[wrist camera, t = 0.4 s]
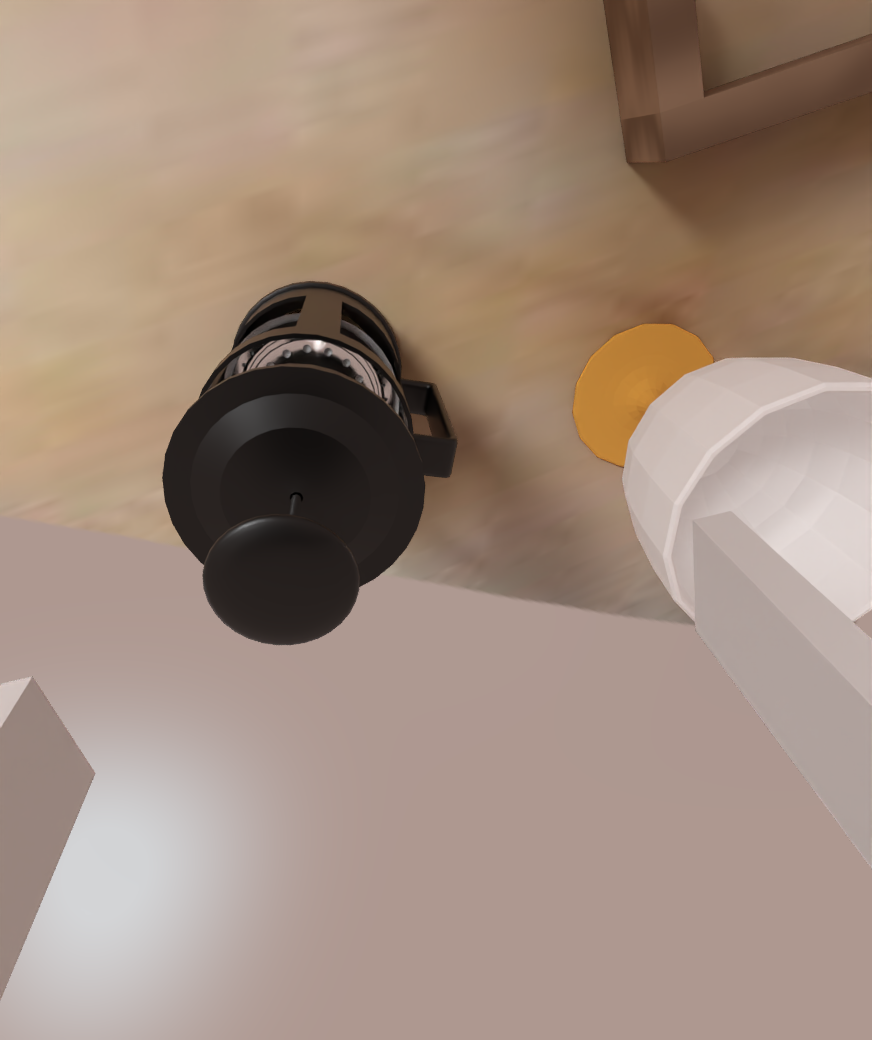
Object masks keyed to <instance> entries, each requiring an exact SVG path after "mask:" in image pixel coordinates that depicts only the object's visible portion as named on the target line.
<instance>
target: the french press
mask: <svg viewBox="0 0 872 1040" xmlns="http://www.w3.org/2000/svg"><path fill="white" fill-rule="evenodd" d="M298 309H302V310H301V313H297V314H290V315H285V314H287V313H290V312H292V311H295V310H298ZM341 314H343V315H345V316H347V317H349V318H350V319H351V320H353V321H354V322H355V323H357V324H358V325H359V326H360V327H361V328H362V329H363V330H364V332H365V333H366V334H365V333H364V332H363V331H361V330H360V329H359V328H357V327H356V326H354V325H352V324H350V323H348V322H346V321H343V320H341ZM410 413H413V414H420V415H424V416H426V417H427V420H428V423H429V427H430V430H431V433H432V436H427V435H420V434H413V427H412V419H411V415H410ZM456 448H457V437H456V434H455V432H454V429H453V427H452V424H451V421H450V419H449V416H448V414H447V411H446V409H445V406H444V403H443V401H442V398H441V396H440V393H439V391H438V388H437V386H436V385H435V384H433V383H427V382H421V381H414V380H407V379H401V359H400V352H399V348H398V345H397V342H396V339H395V336H394V333H393V331H392V330H391V328H390V326H389V325H388V323H387V321H386V319H385V318H384V317H383V316H382V315H381V313H380V312H379V311H378V310H377V309H376V308H375V307H374V305H372V304H371V303H370V302H368V301H367V300H366V299H365V298H363V297H362V296H361V295H359V294H357V293H355V292H353V291H351V290H349V289H347V288H345V287H342V286H339V285H335V284H331V283H328V282H315V281H307V282H299V283H292V284H290V285H287V286H284V287H281V288H278V289H276V290H274V291H273V292H271V293H269V294H268V295H266V296H265V297H263V298H262V299H261V300H260V301H259V302H258V303H256V304H255V305H254V306H253V307H252V308H251V309H250V311H249V312H248V314H247V315H246V317H245V318H244V320H243V321H242V323H241V324H240V326H239V329H238V332H237V334H236V337H235V340H234V345H233V348H232V350H231V352H230V353H229V354H228V355H227V356H226V357H225V358H224V359H223V360H222V361H221V362H220V363H219V364H218V366H217V367H216V369H215V370H214V372H213V373H212V375H211V376H210V378H209V379H208V381H207V382H206V384H205V386H204V387H203V389H202V391H201V394H200V396H199V399H198V400H197V401H196V402H195V403H194V404H193V405H192V406H191V407H190V408H189V409H188V410H187V412H186V413H185V415H184V416H183V418H182V419H181V421H180V422H179V424H178V425H177V427H176V429H175V430H174V432H173V434H172V437H171V440H170V443H169V445H168V448H167V451H166V454H165V461H164V469H163V477H162V479H163V488H164V497H165V503H166V506H167V509H168V512H169V515H170V518H171V521H172V524H173V525H174V527H175V529H176V530H177V532H178V534H179V536H180V537H181V539H182V541H183V542H184V544H185V545H186V546H187V548H188V549H189V550H190V551H191V552H192V553H193V554H194V555H195V557H196V558H197V559H198V560H199V561H200V562H201V563H202V564H203V565H204V569H203V586H204V591H205V594H206V596H207V600H208V602H209V604H210V606H211V607H212V609H213V611H214V612H215V614H216V615H217V616H218V617H219V618H220V619H221V620H222V621H223V623H224V624H226V625H227V626H229V627H230V628H231V629H232V630H234V631H235V632H237V633H239V634H241V635H243V636H244V637H246V638H248V639H252V640H255V641H258V642H261V643H267V644H273V645H294V644H300V643H305V642H308V641H312V640H315V639H318V638H320V637H322V636H324V635H325V634H327V633H329V632H331V631H332V630H333V629H335V628H336V627H337V626H338V625H339V624H341V623H342V621H343V620H344V619H345V618H346V617H347V616H348V614H349V613H350V612H351V610H352V608H353V606H354V604H355V602H356V599H357V595H358V592H359V587H360V586H362V585H364V584H366V583H368V582H370V581H371V580H373V579H375V578H376V577H378V576H379V575H380V574H381V573H383V572H384V571H385V570H386V569H388V568H389V567H390V566H391V565H392V564H393V563H394V562H395V561H396V560H397V558H398V557H399V556H400V555H401V554H402V553H403V551H404V550H405V549H406V548H407V546H408V544H409V542H410V541H411V539H412V537H413V535H414V533H415V531H416V530H417V527H418V524H419V520H420V517H421V514H422V511H423V505H424V493H425V481H424V475H426V476H434V477H442V478H448V477H450V475H451V472H452V467H453V462H454V457H455V452H456Z"/></svg>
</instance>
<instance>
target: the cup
mask: <svg viewBox="0 0 872 1040" xmlns="http://www.w3.org/2000/svg"><path fill="white" fill-rule="evenodd" d="M572 413H573V416H574V420H575V423H576V427H577V430H578V433H579V437H580V439H581V440H582V441H583V442H584V443H585V444H586V445H587V446H588V447H589V449H590V450H591V451H592V452H593V453H594V454H595V455H596V456H597V457H598V458H601V459H603V460H606V461H608V462H611V463H613V464H615V465H618V466H620V467H622V466H624V470H623V476H622V482H623V487H624V492H625V497H626V501H627V504H628V508H629V512H630V515H631V519H632V523H633V526H634V530H635V534H636V536H637V538H638V540H639V542H640V544H641V546H642V548H643V550H644V552H645V554H646V556H647V558H648V560H649V562H650V564H651V566H652V568H653V569H654V571H655V572H656V574H657V576H658V577H659V579H660V580H661V582H662V583H663V585H664V586H665V588H666V589H667V591H668V592H669V594H670V595H671V597H672V598H673V600H674V601H675V602H676V603H677V604H678V605H679V606H680V607H681V608H682V610H683V611H684V612H685V613H686V614H687V615H688V616H689V617H690V618H691V619H692V620H693V621H694V622H695V596H694V558H693V520H694V519H698V518H703V517H707V516H711V515H715V514H719V513H724V512H728V511H732V512H733V513H734V514H735V515H736V516H737V517H738V518H739V519H741V520H742V521H743V522H744V523H745V524H746V525H747V526H748V527H749V528H750V529H752V530H753V531H754V532H755V533H756V534H757V535H758V536H759V537H760V538H761V539H763V540H764V541H765V542H766V543H767V544H768V545H769V546H770V547H771V548H772V549H773V550H775V551H776V552H777V553H778V554H779V555H780V556H781V557H782V558H783V559H784V560H786V561H787V562H788V563H789V564H790V565H791V566H792V567H793V568H794V569H795V570H797V571H798V572H799V573H800V574H801V575H802V576H803V577H804V578H805V579H806V580H808V581H809V582H810V583H811V584H812V585H813V586H814V587H815V588H816V589H817V590H819V591H820V592H821V593H822V594H823V595H824V596H825V597H826V598H827V599H828V600H830V601H831V602H832V603H833V604H834V605H835V606H836V607H837V608H838V609H839V610H841V611H842V612H843V613H844V614H845V615H846V616H847V617H848V618H849V619H850V620H852V621H853V622H854V621H856V620H857V619H859V618H860V617H862V616H863V615H865V614H866V613H867V612H869V611H870V610H872V378H869V377H866V376H863V375H860V374H857V373H854V372H851V371H848V370H845V369H842V368H839V367H835V366H830V365H826V364H821V363H816V362H811V361H806V360H802V359H797V358H725V359H723V360H720V361H718V362H715V363H714V359H713V357H712V355H711V354H710V353H709V351H708V350H707V348H706V347H705V346H704V344H703V343H702V342H701V340H700V339H699V338H698V336H696V335H694V334H692V333H690V332H688V331H686V330H684V329H682V328H680V327H677V326H675V325H673V324H641V325H639V326H636V327H634V328H631V329H629V330H627V331H624V332H622V333H619V334H617V335H614V336H613V337H612V338H611V339H610V340H609V341H608V342H606V343H605V344H604V345H603V346H602V347H601V348H600V349H599V350H598V351H597V352H595V353H594V354H593V355H592V356H591V357H590V359H589V361H588V363H587V364H586V366H585V368H584V370H583V372H582V374H581V376H580V378H579V379H578V381H577V383H576V388H575V396H574V404H573V412H572Z"/></svg>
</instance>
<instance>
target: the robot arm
mask: <svg viewBox="0 0 872 1040" xmlns="http://www.w3.org/2000/svg"><path fill="white" fill-rule="evenodd" d="M693 558H694V596H695V630H696V632H697V634H698V635H699V636H700V638H701V639H702V640H703V642H704V643H705V644H706V646H707V647H708V648H709V650H710V651H711V652H712V654H713V655H714V657H715V658H716V659H717V660H718V662H719V663H720V664H721V666H722V667H723V669H724V670H725V671H726V673H727V674H728V675H729V677H730V678H731V679H732V681H733V682H734V684H735V685H736V686H737V688H738V689H739V690H740V692H741V693H742V694H743V696H744V697H745V698H746V700H747V701H748V702H749V704H750V705H751V706H752V708H753V709H754V711H755V712H756V713H757V715H758V716H759V717H760V719H761V720H762V721H763V723H764V724H765V725H766V727H767V728H768V729H769V731H770V732H771V734H772V735H773V736H774V738H775V739H776V740H777V742H778V743H779V744H780V746H781V747H782V748H783V750H784V751H785V752H786V754H787V755H788V756H789V758H790V759H791V761H792V762H793V763H794V765H795V766H796V767H797V769H798V770H799V771H800V773H801V774H802V775H803V777H804V778H805V779H806V781H807V782H808V783H809V785H810V786H811V788H812V789H813V790H814V792H815V793H816V794H817V795H818V797H819V798H820V800H821V801H822V802H823V804H824V805H825V806H826V808H827V809H828V811H829V812H830V813H831V815H832V816H833V817H834V819H835V820H836V821H837V823H838V824H839V825H840V826H841V828H842V829H843V831H844V832H845V833H846V835H847V836H848V837H849V839H850V840H851V841H852V843H853V844H854V846H855V847H856V848H857V850H858V851H859V852H860V854H861V855H862V856H863V858H864V859H865V860H866V862H867V863H868V864H869V866H870V867H871V868H872V639H871V638H870V637H869V636H868V635H867V634H866V633H865V632H864V631H862V630H861V629H860V628H859V627H858V626H857V625H856V624H855V623H854V622H853V621H852V620H850V619H849V618H848V617H847V616H846V615H845V614H844V613H843V612H842V611H841V610H839V609H838V608H837V607H836V606H835V605H834V604H833V603H832V602H831V601H830V600H828V599H827V598H826V597H825V596H824V595H823V594H822V593H821V592H820V591H819V590H817V589H816V588H815V587H814V586H813V585H812V584H811V583H810V582H809V581H808V580H806V579H805V578H804V577H803V576H802V575H801V574H800V573H799V572H798V571H797V570H795V569H794V568H793V567H792V566H791V565H790V564H789V563H788V562H787V561H786V560H784V559H783V558H782V557H781V556H780V555H779V554H778V553H777V552H776V551H775V550H773V549H772V548H771V547H770V546H769V545H768V544H767V543H766V542H765V541H764V540H763V539H761V538H760V537H759V536H758V535H757V534H756V533H755V532H754V531H753V530H752V529H750V528H749V527H748V526H747V525H746V524H745V523H744V522H743V521H742V520H741V519H739V518H738V517H737V516H736V515H735V514H734V513H733V512H732V511H728V512H724V513H719V514H715V515H711V516H707V517H703V518H698V519H694V520H693ZM94 775H95V772H94V770H93V769H92V767H91V766H90V764H89V763H88V761H87V760H86V758H85V757H84V755H83V753H82V752H81V750H80V749H79V747H78V746H77V744H76V743H75V741H74V740H73V738H72V736H71V735H70V733H69V732H68V730H67V729H66V727H65V726H64V724H63V722H62V721H61V719H60V718H59V716H58V715H57V713H56V712H55V710H54V709H53V707H52V706H51V704H50V702H49V701H48V699H47V698H46V696H45V695H44V693H43V692H42V690H41V689H40V687H39V685H38V684H37V682H36V681H35V680H34V678H33V676H32V677H28V678H24V679H19V680H16V681H11V682H7V683H3V684H0V1000H1V998H2V995H3V993H4V990H5V988H6V985H7V983H8V981H9V978H10V976H11V973H12V971H13V969H14V966H15V964H16V962H17V959H18V957H19V955H20V952H21V950H22V947H23V945H24V942H25V940H26V938H27V935H28V933H29V931H30V928H31V926H32V924H33V921H34V919H35V916H36V913H37V912H38V909H39V907H40V904H41V902H42V900H43V897H44V895H45V892H46V890H47V888H48V885H49V883H50V881H51V878H52V876H53V873H54V871H55V869H56V866H57V864H58V861H59V859H60V856H61V854H62V852H63V849H64V847H65V845H66V842H67V840H68V837H69V835H70V833H71V830H72V828H73V826H74V823H75V821H76V818H77V816H78V813H79V811H80V809H81V806H82V804H83V802H84V799H85V797H86V794H87V792H88V790H89V787H90V785H91V783H92V780H93V778H94Z"/></svg>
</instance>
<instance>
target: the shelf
mask: <svg viewBox="0 0 872 1040" xmlns="http://www.w3.org/2000/svg"><path fill="white" fill-rule="evenodd" d="M603 1H604V8H605V15H606V22H607V29H608V36H609V42H610V49H611V56H612V63H613V70H614V77H615V84H616V91H617V98H618V105H619V112H620V118H621V125H622V132H623V139H624V146H625V153H626V160H627V163H632V162H667V161H670V160H673V159H676V158H679V157H682V156H685V155H688V154H691V153H694V152H697V151H700V150H703V149H705V148H708V147H711V146H714V145H717V144H720V143H723V142H726V141H729V140H732V139H735V138H738V137H741V136H744V135H747V134H750V133H753V132H756V131H758V130H761V129H764V128H767V127H770V126H773V125H776V124H779V123H782V122H785V121H788V120H791V119H794V118H797V117H800V116H803V115H806V114H809V113H811V112H814V111H817V110H820V109H823V108H826V107H829V106H832V105H835V104H838V103H841V102H844V101H847V100H850V99H853V98H856V97H859V96H862V95H864V94H867V93H870V92H872V34H870V35H867V36H864V37H861V38H858V39H855V40H852V41H849V42H846V43H843V44H841V45H838V46H835V47H832V48H829V49H826V50H823V51H820V52H817V53H814V54H811V55H809V56H806V57H803V58H800V59H797V60H794V61H791V62H788V63H785V64H782V65H779V66H776V67H774V68H771V69H768V70H765V71H762V72H759V73H756V74H753V75H750V76H747V77H744V78H742V79H739V80H736V81H733V82H730V83H727V84H724V85H721V86H718V87H715V88H712V89H709V90H707V91H704V92H703V81H702V70H701V59H700V48H699V37H698V26H697V15H696V5H695V0H603Z"/></svg>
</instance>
